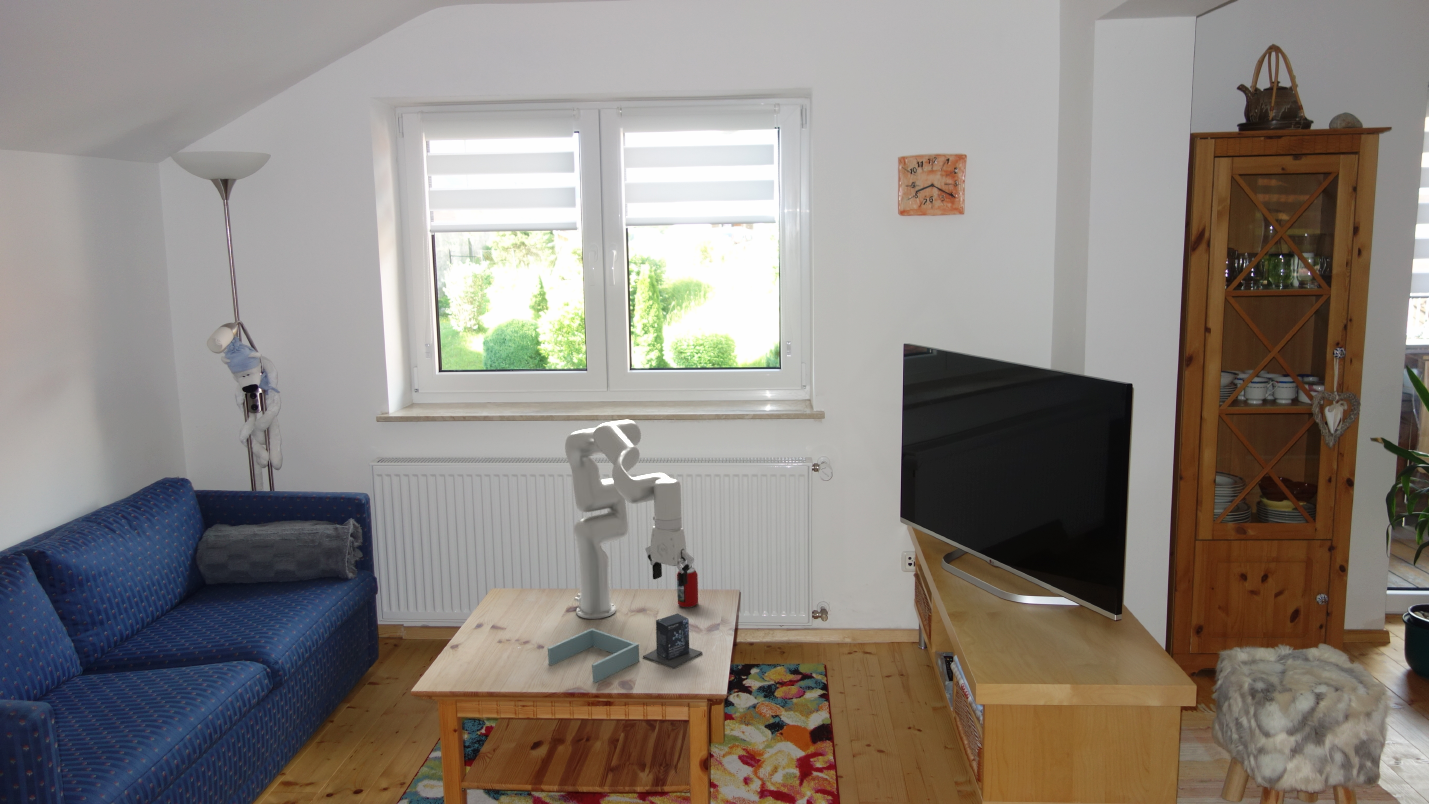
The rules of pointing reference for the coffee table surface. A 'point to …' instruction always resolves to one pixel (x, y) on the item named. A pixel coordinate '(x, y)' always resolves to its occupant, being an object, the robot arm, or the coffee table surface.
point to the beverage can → (688, 590)
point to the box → (672, 636)
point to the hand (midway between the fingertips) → (670, 581)
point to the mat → (675, 661)
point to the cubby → (621, 648)
